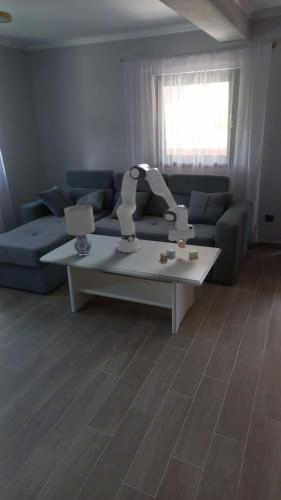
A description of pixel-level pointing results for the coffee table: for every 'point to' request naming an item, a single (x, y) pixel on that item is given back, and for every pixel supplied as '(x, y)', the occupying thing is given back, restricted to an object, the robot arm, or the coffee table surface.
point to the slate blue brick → (170, 253)
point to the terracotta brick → (181, 244)
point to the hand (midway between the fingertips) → (181, 244)
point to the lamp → (80, 226)
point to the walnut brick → (163, 257)
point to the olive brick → (193, 254)
